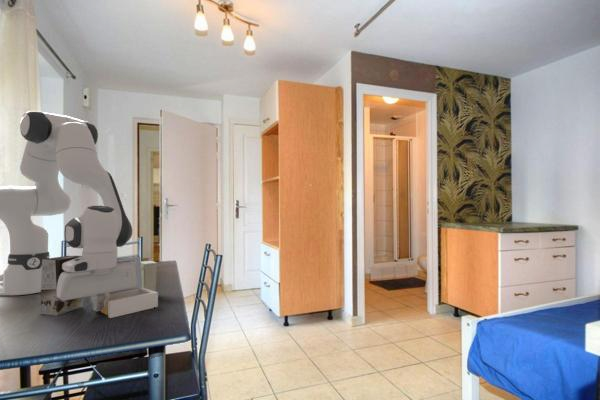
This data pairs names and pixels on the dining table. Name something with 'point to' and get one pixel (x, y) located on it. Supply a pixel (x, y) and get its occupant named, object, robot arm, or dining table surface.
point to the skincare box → (149, 275)
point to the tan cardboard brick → (106, 308)
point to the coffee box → (55, 288)
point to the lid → (138, 273)
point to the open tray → (130, 301)
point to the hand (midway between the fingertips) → (99, 309)
